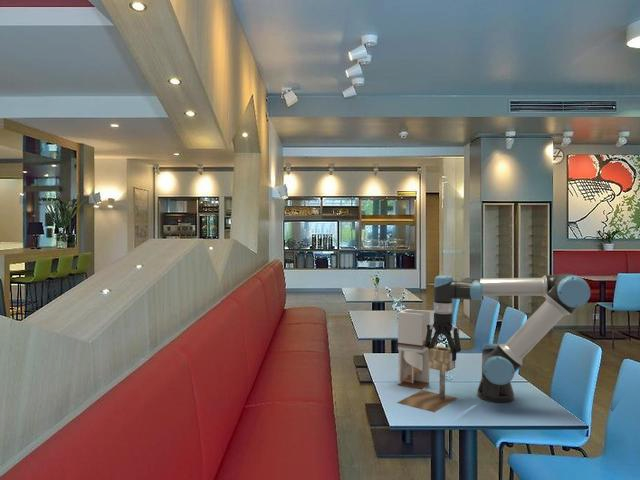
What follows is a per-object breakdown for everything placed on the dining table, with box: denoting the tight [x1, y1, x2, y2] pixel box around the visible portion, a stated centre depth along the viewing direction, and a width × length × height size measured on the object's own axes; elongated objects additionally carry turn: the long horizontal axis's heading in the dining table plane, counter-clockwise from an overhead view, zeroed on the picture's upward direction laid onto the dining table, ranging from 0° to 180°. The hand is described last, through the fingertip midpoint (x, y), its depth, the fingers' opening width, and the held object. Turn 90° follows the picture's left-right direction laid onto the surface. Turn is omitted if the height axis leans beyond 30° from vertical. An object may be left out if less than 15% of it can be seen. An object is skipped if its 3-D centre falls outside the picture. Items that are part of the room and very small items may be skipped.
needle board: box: [396, 370, 459, 413], centre depth 216 cm, size 17×22×15 cm
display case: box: [397, 308, 431, 390], centre depth 238 cm, size 11×11×35 cm
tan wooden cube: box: [429, 345, 456, 373], centre depth 218 cm, size 8×8×8 cm
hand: (442, 366), depth 218 cm, fingers closed on tan wooden cube, 8 cm apart
